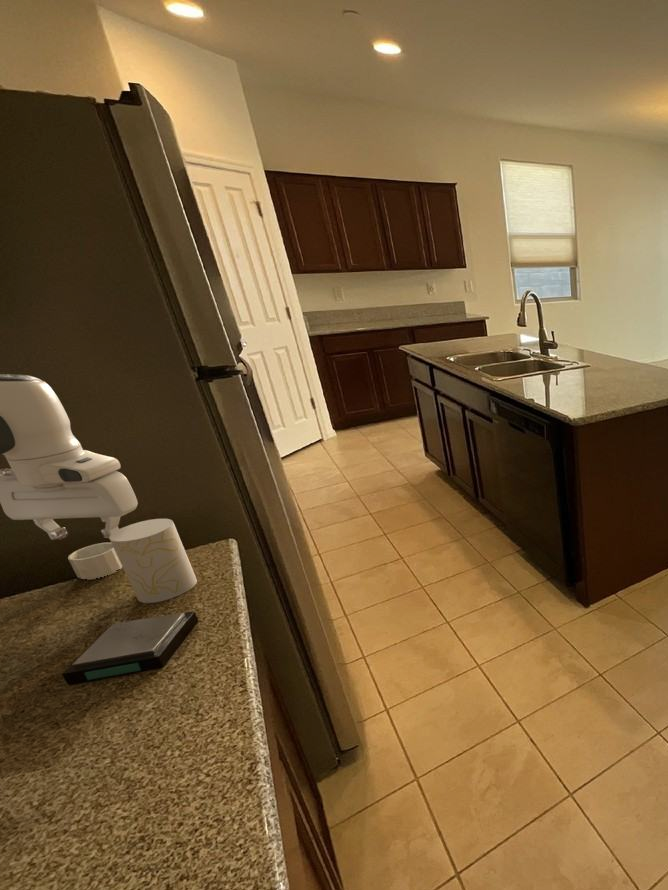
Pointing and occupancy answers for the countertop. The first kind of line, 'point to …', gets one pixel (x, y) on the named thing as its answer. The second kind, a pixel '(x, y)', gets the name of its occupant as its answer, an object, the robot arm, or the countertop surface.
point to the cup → (154, 560)
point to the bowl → (95, 561)
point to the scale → (132, 647)
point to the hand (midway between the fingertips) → (86, 537)
